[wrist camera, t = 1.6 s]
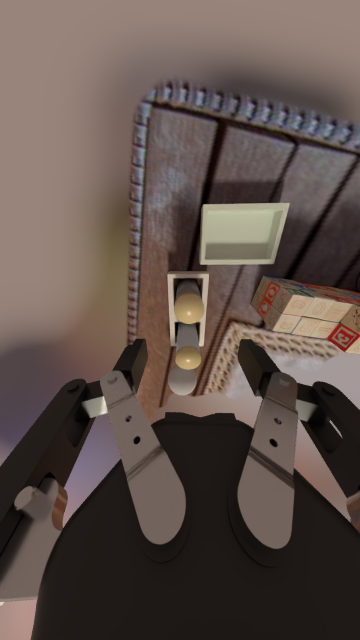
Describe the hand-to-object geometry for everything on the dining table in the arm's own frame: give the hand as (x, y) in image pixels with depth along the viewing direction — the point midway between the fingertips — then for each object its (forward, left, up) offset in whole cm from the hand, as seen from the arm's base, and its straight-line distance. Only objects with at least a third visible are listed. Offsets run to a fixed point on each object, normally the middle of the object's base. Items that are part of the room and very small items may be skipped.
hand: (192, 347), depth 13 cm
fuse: (0, +8, -19) cm, 21 cm away
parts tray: (-8, -9, -19) cm, 22 cm away
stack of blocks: (-24, +2, -19) cm, 31 cm away
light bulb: (+1, +17, -19) cm, 26 cm away
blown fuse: (0, 0, -19) cm, 19 cm away
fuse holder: (0, +4, -19) cm, 19 cm away
